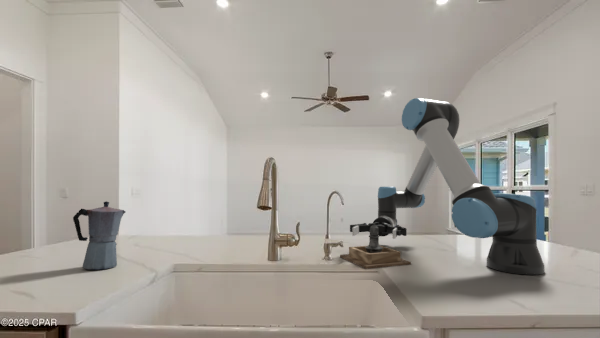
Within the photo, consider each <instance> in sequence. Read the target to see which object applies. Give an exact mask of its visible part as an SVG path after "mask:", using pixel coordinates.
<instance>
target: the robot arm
mask: <svg viewBox="0 0 600 338" xmlns="http://www.w3.org/2000/svg"><path fill="white" fill-rule="evenodd" d="M401 123H402V126H403V128H404V129H406V130H408V131H413V133H414V135H415V137H416V139H417V140H419V141H421V142H424V144H425V146H424V148H423V151H422V152H421V154H420V157H419V159H418V160H417V163H416V165H415V167H414V169H413V172H412V174H411V176H410V178H409V180H408V183H407V185H406V187H405V189H404V190H397V188H396V186H379V187H378V191H377V207H378V209H377V218H376V219H374V220H373V222H370V223H368V224H367V222H363V223H357V224H349V232H350V233H351V234H352V237H355V236H356V235H359V233H370V227H371V226H373V223H375V226H377V227H378V236H379V237H387V236H389V234H391V235H392V239H393V240H394V239H396V238H397V237H400V236H404V237H406V236H407V235H408V234H407V231H408V230H407V228H406V227H403V226H402V225H399V224H398V219H397V209H417V208H422V207H423V206H424V204H425V202H426V201H425V199H426V195H425V190H426V189H427V187H428V185H429V182H430V181H431V179H432V177H433V175H434V173H435V171H436V169H437V167H438V170H439V171H440V173H441V175H442V177H443V178H444V180H445V182H446V184H447V186H448V188H449V189H450V191H451V193H452V195H453V197H452V200H451V204H452V208H451V212H452V214H451V220H452V223H453V224H454V226H455V227H456V229H457V230H458V231H459V232H460V233H461V234H463V235H465V236H467V237H470V238H476V239H477V238H478V239H488V238H492V242H491V245H490V248H489V251H488V253H487V256H486V266H487V267H488V268H491V269H493V270H496V271H499V272H505V273H509V274H518V275H527V276H528V275H530V276H533V275H534V276H536V275H543V274H545V272H546V271H545V263H544V261H543V259H542V256H541V253H540V251H539V248H538V244H537V243H538V242H537V241H538V240H537V235H538V234H537V211H538V209H537V208H538V207H536V200H535V198H534V197H532V196H530V195H525V194H516V193H504V192H501V193H500V192H498V193H497V192H496V193H494V192H493V191H492V190H491V188H490V186H488V185H486V184H482V183H481V182H480V180H479V179H478V177H477V176H476V174H475V172H474V170H473V168H472V167H471V166H470V163H469V162H468V161H467V159H466V157H465V156H464V154H463V152H462V150H461V149H460V148H459V146H458V144H457V143H456V141H455V138H456V135H457V134H458V131H459V127H460V114H459V111H458V110H457V108H456V107H455V105H453V104H452V103H450V102H448V101H443V100H442V101H441V100H437V99H429V98H424V97H415V98H413V99H411V100H409V101H408V102H407V103H406V104H405V106H404V108H403V110H402V114H401Z"/></svg>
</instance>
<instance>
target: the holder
mask: <svg viewBox="0 0 600 338" xmlns="http://www.w3.org/2000/svg"><path fill="white" fill-rule="evenodd" d="M366 246H367V245H362V246H361V245H359V246H349V247H348V253H347V254H346V253H343V254H339V257H340V258H342V259H344V260H346V261H348V262H350V263H352V264H355V265H357V266H359V267H361V268H363V269H366V270H368V269H378V268H388V267H396V266H397V267H398V266H399V267H400V266H408V265H412V261H409V260H407V259H405V258H404V259H403V258H401V255H402V254H401V253H402V251H399V250H396V249H393V248H390V247H387V246H384V245H380V244H379V246H380V247H382V248H383V249H382V252H380V253H367V251H366V248H365V247H366Z"/></svg>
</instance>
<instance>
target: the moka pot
mask: <svg viewBox="0 0 600 338" xmlns="http://www.w3.org/2000/svg"><path fill="white" fill-rule="evenodd" d="M109 204H110V202H109V201H107V200H106V201H103V206H102V207H96V208H91V209H85V208H81V209H79V210H78V212H76V213H75V215H74V216H73V217H72V220H73V222H74V227H75V231H76V234H77V238H78V241H79V242H80V241H81V242H87V241H88V244H87V247H86V252H85V255H84V259H83V263H82V268H83V269H84V270H107V269H111V268H115V267H117V266H118V263H117V262H118V260H117V258H118V257H117V244H118V243H117V242H116V240H117V235H118V234H119V230H120V225H121V221H122V218H123V216H124V215H125V213H126V210H124V209H120V208H114V207H110V206H109ZM80 216H84V217H87V219H88V221H87V222H88V224H87V225H88V236H89V238H88V237H83V235H82V229H81V224H80V220H79V218H80Z"/></svg>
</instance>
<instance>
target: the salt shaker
mask: <svg viewBox="0 0 600 338" xmlns="http://www.w3.org/2000/svg"><path fill="white" fill-rule="evenodd" d="M372 223H373V222H372ZM368 237H369V244H368V245H365V246H366V247H365V248H366V251H367V253H380V252H382V249H383V248H382V247H380V246H379V245H380V243H379V238H380V236H378V227H377V226H375V223H373V226H371V227H370V232H369V235H368Z"/></svg>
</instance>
